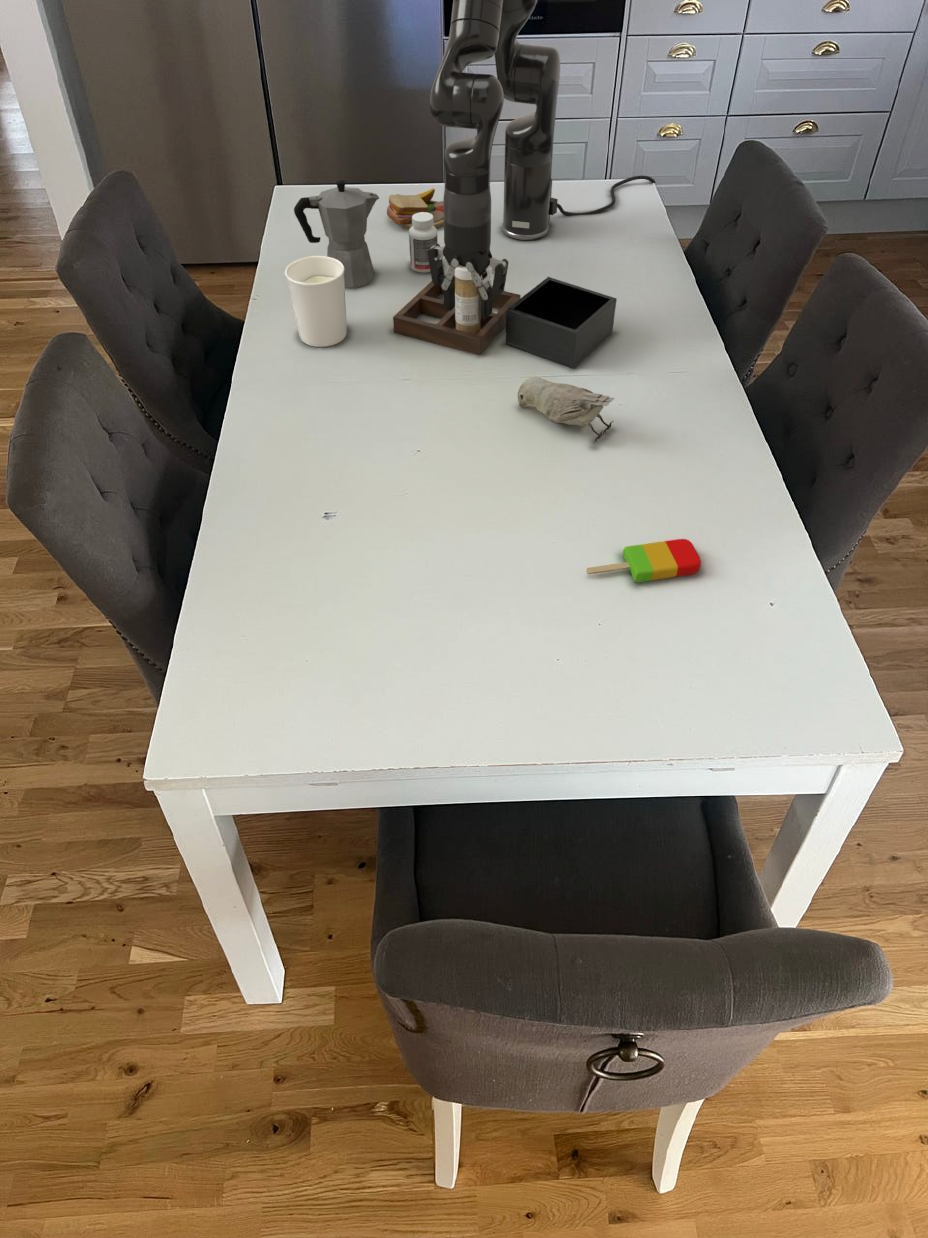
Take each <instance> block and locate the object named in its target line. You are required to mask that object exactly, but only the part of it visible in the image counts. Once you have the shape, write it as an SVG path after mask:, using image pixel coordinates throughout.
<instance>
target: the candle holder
mask: <svg viewBox="0 0 928 1238" xmlns="http://www.w3.org/2000/svg"><path fill="white" fill-rule="evenodd" d="M284 275H285V278H286V283H287V287H288V293H289V296H290V302H291V305H292V310H293V313H294V314H293V315H294V319H295V324H296V328H297V331H298V332H297V333H298V335H299V338H300V340H301V341H302V343H304V344H306V345H308V346H311V347H314V348H315V347H316V348H326V347H331V346H334V345H337V344H339V343H340V342H342V341H344V339H345V338H346V336H347V335H348V334H347V331H348V326H347V307H346V306H347V303H346V302H347V301H346V288H345V280H344V266H343V264H342V263H341V262H340V261H338V260H337V259H334V258H331V257H327V255H309V256H305V257H301V258H298V259H296V260H294V261H292V262H291V263H289V264H287V266H286V268H285V270H284Z"/></svg>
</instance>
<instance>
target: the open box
mask: <svg viewBox="0 0 928 1238" xmlns="http://www.w3.org/2000/svg"><path fill="white" fill-rule="evenodd" d="M617 300H618V298H616V297H613V296H611V295H607V294H604V293H601V292H598V291H594V290H592V289H588V288H585V287H582V286H579V285H575V284H572V283H569V282H567V281H563V280H560V279H557V278H553V277H550V276H547V277H546V278H545V279H543V280H542V281H540V282H539V283H538V284H537V285H536V286H534V287H533V288H532V289H531V290H529V291H528V292H526V293H525V294H524V295H523V296H521V298H520V299H519V300H518V301H517V302H515V303H514V304H513V305H511V306H510V307H509V308H508V309H507V310H506V326H505V343H504V345H506V346H508V347H511V348H514V349H517V350H520V351H521V352H522V351H523V352H525V353H528V354H530V355H533V356H536V357H540V358H542V359H545V360H548V361H551V362H553V363H556V364H558V365H562V366H564V367H567V368H570V369H572V370H573V369H575V368H576V367H577V366H578V365H580V364H581V363H582V362H583V360H585V359H586V358H587V357H588V356H589V355H591V353H592V352H594V351H595V350H596V349H597V348H598V347H599V346H601V344H603V342H605V341H606V340H607V339H609V337H610V336H611V335H612V334H613V331H614V323H615V315H616V306H617Z"/></svg>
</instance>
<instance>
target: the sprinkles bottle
mask: <svg viewBox="0 0 928 1238" xmlns="http://www.w3.org/2000/svg"><path fill="white" fill-rule="evenodd" d="M454 275H455V320H456V328H455V329H456V330H460V331H464V332H468V333H471V334H475V335H477V334H478V333H479V332H480V331H481V329H480V319H481V302H480V297H481V296H480V292H479V290H478V288H476V287H475V284H474V282H473V280H472V277H471V272H469V271H468V270H467V267H466V266H462V265H459V266H458V267H457V268H456V269H455V273H454ZM481 277H482V276H480V278H481Z"/></svg>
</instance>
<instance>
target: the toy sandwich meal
mask: <svg viewBox="0 0 928 1238" xmlns="http://www.w3.org/2000/svg"><path fill="white" fill-rule="evenodd" d="M435 192H436V189H435V188H434V187H433V188H431V189H429V190H426V191H424V192H422V193H418V194H398V193H397V194H390V195H389V196H388V204H389V205H388V206H387V208H386V216H387V217H388V218H389V219H390V220H391V221H392V222H394V223H395V224H398V225H399V226H401V227H402V228H406V229H409V230H410V228H411V227H412V226H413V225H412V216H413V215H414V214H416V213H420V212H427V213H430V214H432V215H433V221H434V223H433V226H434V227H435V228H436V229H437V228H439V227H441V226H444V212H443V200H440V201H437V200H432V199H433V197H434V195H435Z"/></svg>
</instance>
